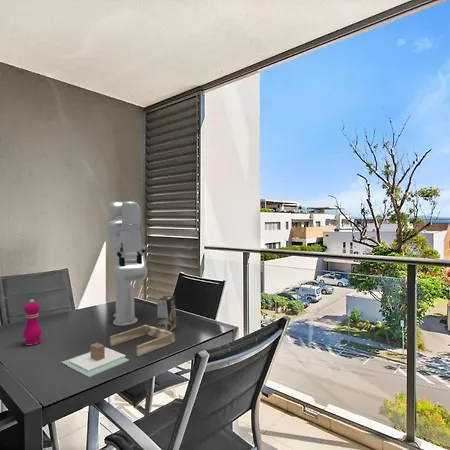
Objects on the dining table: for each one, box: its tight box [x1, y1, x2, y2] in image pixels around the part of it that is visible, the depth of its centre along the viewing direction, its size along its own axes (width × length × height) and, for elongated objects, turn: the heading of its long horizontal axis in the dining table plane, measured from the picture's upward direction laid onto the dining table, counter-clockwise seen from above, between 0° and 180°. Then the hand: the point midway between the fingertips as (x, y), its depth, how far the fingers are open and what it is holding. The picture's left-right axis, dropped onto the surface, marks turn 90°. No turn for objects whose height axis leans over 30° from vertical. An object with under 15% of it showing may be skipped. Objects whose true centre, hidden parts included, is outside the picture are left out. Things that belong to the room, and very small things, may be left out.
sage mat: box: [60, 351, 130, 378], centre depth 131 cm, size 20×17×1 cm
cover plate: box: [69, 342, 126, 372], centre depth 131 cm, size 14×16×6 cm
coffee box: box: [156, 295, 176, 332], centre depth 167 cm, size 9×6×16 cm
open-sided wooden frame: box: [109, 324, 176, 358], centre depth 149 cm, size 20×20×4 cm
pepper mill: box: [22, 299, 43, 345], centre depth 151 cm, size 7×7×20 cm
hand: (131, 264), depth 156 cm, fingers open, 9 cm apart
